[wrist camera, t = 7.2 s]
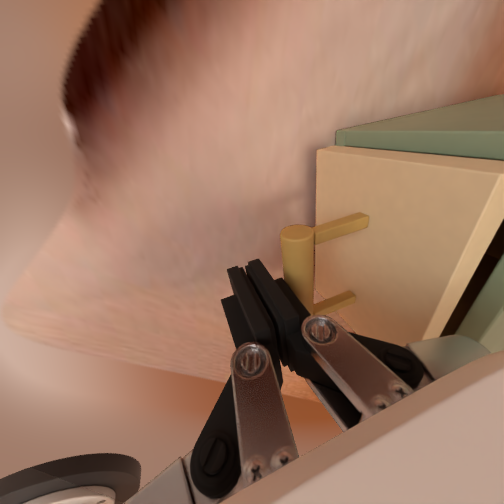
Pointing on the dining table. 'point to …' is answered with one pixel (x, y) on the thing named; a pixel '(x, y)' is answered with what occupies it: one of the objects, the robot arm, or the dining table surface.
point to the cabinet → (454, 144)
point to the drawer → (398, 240)
